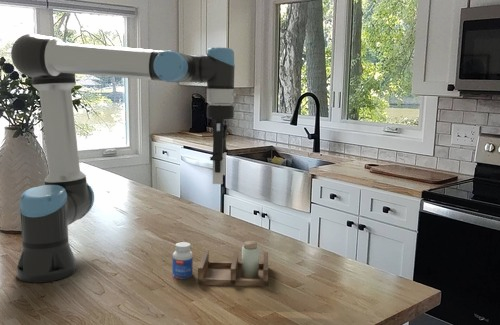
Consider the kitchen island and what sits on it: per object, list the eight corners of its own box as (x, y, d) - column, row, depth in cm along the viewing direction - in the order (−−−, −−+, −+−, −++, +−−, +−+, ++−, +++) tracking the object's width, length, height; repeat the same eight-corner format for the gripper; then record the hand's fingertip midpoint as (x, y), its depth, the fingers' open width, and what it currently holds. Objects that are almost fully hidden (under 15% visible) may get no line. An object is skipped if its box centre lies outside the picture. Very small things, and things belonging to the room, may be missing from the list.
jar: (241, 278, 128) (241, 245, 127) (241, 272, 133) (242, 240, 131) (258, 279, 128) (259, 246, 127) (258, 272, 133) (259, 240, 131)
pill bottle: (173, 283, 128) (173, 248, 126) (171, 276, 133) (171, 241, 131) (194, 281, 129) (194, 246, 127) (191, 274, 134) (191, 240, 133)
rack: (197, 288, 125) (197, 268, 124) (204, 269, 138) (204, 250, 137) (267, 290, 124) (268, 269, 123) (267, 271, 137) (268, 252, 136)
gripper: (231, 106, 123) (230, 188, 126) (235, 103, 147) (234, 171, 151) (202, 106, 123) (201, 187, 126) (210, 102, 148) (210, 171, 151)
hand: (219, 179), depth 139 cm, fingers open, 13 cm apart
